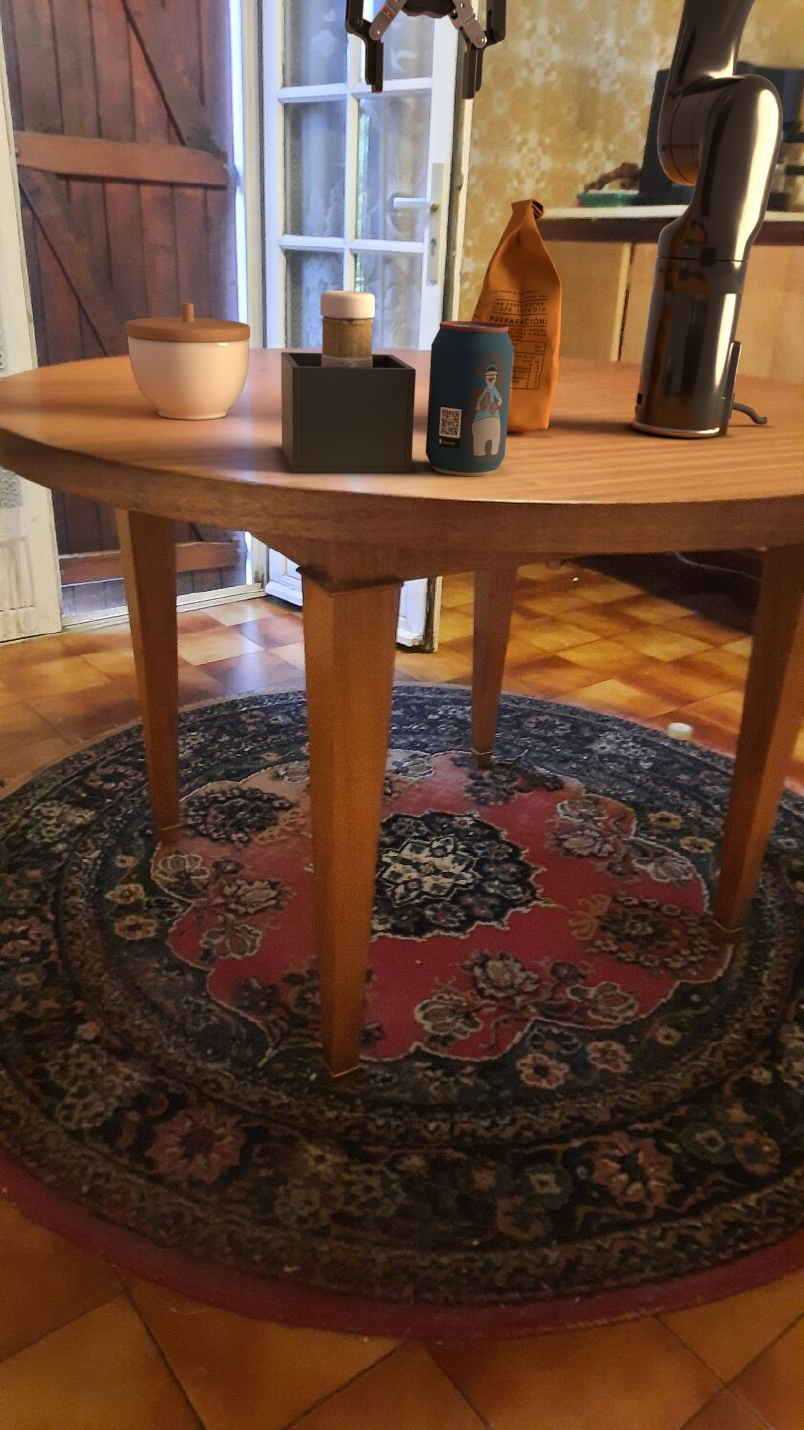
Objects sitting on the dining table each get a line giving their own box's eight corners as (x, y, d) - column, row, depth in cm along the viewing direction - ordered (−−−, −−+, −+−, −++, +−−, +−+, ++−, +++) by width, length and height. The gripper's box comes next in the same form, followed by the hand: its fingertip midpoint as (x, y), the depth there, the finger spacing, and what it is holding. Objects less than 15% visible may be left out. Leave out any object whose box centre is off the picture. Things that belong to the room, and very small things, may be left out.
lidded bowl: (127, 405, 112) (119, 297, 108) (241, 404, 116) (238, 300, 111) (136, 425, 102) (128, 307, 97) (261, 424, 105) (259, 309, 101)
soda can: (447, 457, 94) (456, 318, 89) (516, 468, 91) (529, 325, 86) (410, 469, 89) (417, 322, 83) (482, 481, 86) (493, 330, 80)
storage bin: (389, 448, 97) (392, 354, 93) (411, 472, 88) (416, 369, 84) (281, 448, 95) (280, 352, 91) (293, 473, 86) (292, 367, 82)
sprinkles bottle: (350, 447, 94) (353, 289, 88) (381, 456, 91) (386, 293, 85) (309, 452, 91) (309, 290, 85) (339, 461, 88) (342, 294, 82)
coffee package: (546, 419, 115) (568, 202, 106) (554, 440, 104) (580, 199, 95) (458, 414, 116) (473, 198, 106) (458, 434, 105) (473, 194, 95)
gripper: (355, -151, 81) (352, 86, 88) (526, -132, 84) (509, 97, 91) (341, -124, 88) (339, 95, 95) (500, -107, 91) (486, 104, 98)
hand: (423, 96), depth 93 cm, fingers open, 8 cm apart
